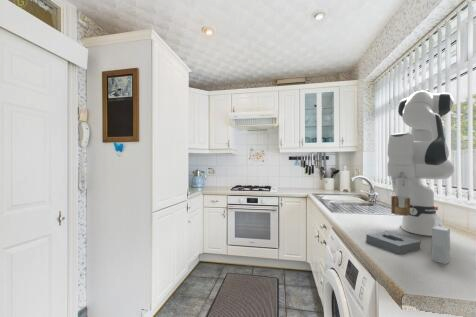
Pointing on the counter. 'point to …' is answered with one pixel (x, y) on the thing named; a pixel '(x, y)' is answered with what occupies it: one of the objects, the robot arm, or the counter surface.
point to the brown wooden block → (398, 210)
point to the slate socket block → (393, 242)
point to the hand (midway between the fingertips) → (400, 206)
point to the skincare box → (441, 244)
